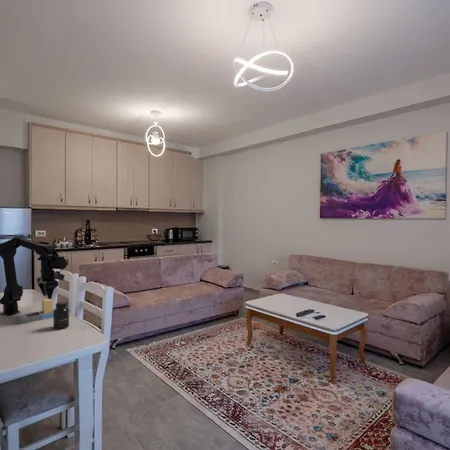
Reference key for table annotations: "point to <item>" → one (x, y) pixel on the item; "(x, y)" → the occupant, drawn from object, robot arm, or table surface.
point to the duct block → (33, 317)
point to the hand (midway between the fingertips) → (47, 297)
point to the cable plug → (46, 306)
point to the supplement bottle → (61, 316)
